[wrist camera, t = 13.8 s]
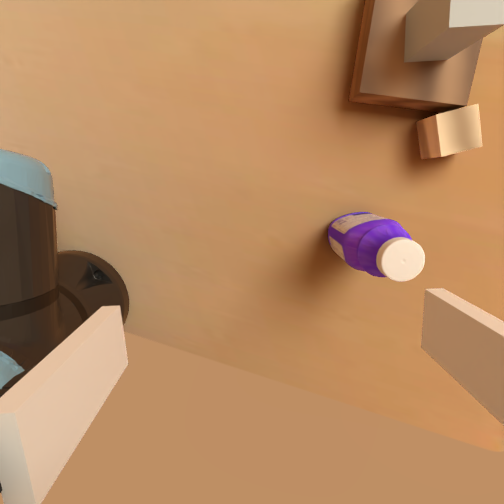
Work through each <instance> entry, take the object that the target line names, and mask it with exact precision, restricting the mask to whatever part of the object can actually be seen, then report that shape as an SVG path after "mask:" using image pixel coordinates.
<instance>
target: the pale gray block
mask: <svg viewBox="0 0 504 504" xmlns="http://www.w3.org/2000/svg"><path fill="white" fill-rule="evenodd" d="M503 25H504V0H418V1H417V3H416V4H415V5H414V6H413V7H412V8H411V9H410V10H409V11H408V12H407V13H406V27H405V52H404V62H420V61H437V60H448V59H449V58H451V57H453V56H454V55H456V54H458V53H459V52H461V51H462V50H464V49H466V48H467V47H469V46H470V45H472V44H474V43H475V42H477V41H479V40H480V39H482V38H483V37H485V36H487V35H488V34H490V33H492V32H493V31H495V30H496V29H498V28H500V27H501V26H503Z"/></svg>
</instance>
